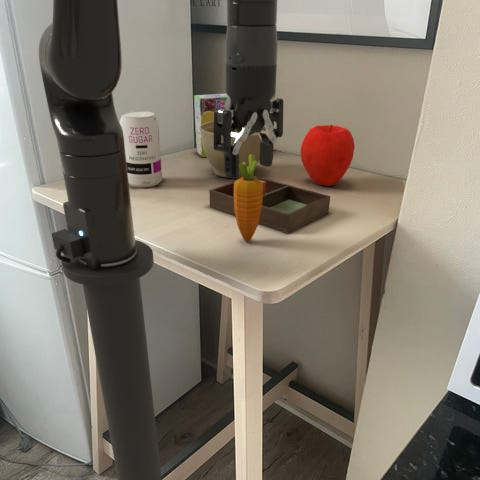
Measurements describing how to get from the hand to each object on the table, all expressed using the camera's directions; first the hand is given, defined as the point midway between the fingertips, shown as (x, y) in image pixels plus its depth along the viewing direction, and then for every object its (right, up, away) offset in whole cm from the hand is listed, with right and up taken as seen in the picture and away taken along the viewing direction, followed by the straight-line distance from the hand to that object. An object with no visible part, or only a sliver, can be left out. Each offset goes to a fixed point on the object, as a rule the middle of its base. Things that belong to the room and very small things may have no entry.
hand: (249, 171), depth 81 cm
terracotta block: (+1, +1, +22) cm, 22 cm away
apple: (+18, +7, +35) cm, 40 cm away
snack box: (-3, +22, +58) cm, 62 cm away
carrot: (0, -11, +7) cm, 13 cm away
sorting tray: (+4, -2, +20) cm, 21 cm away
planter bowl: (-3, +12, +41) cm, 43 cm away
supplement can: (-24, +7, +34) cm, 42 cm away
